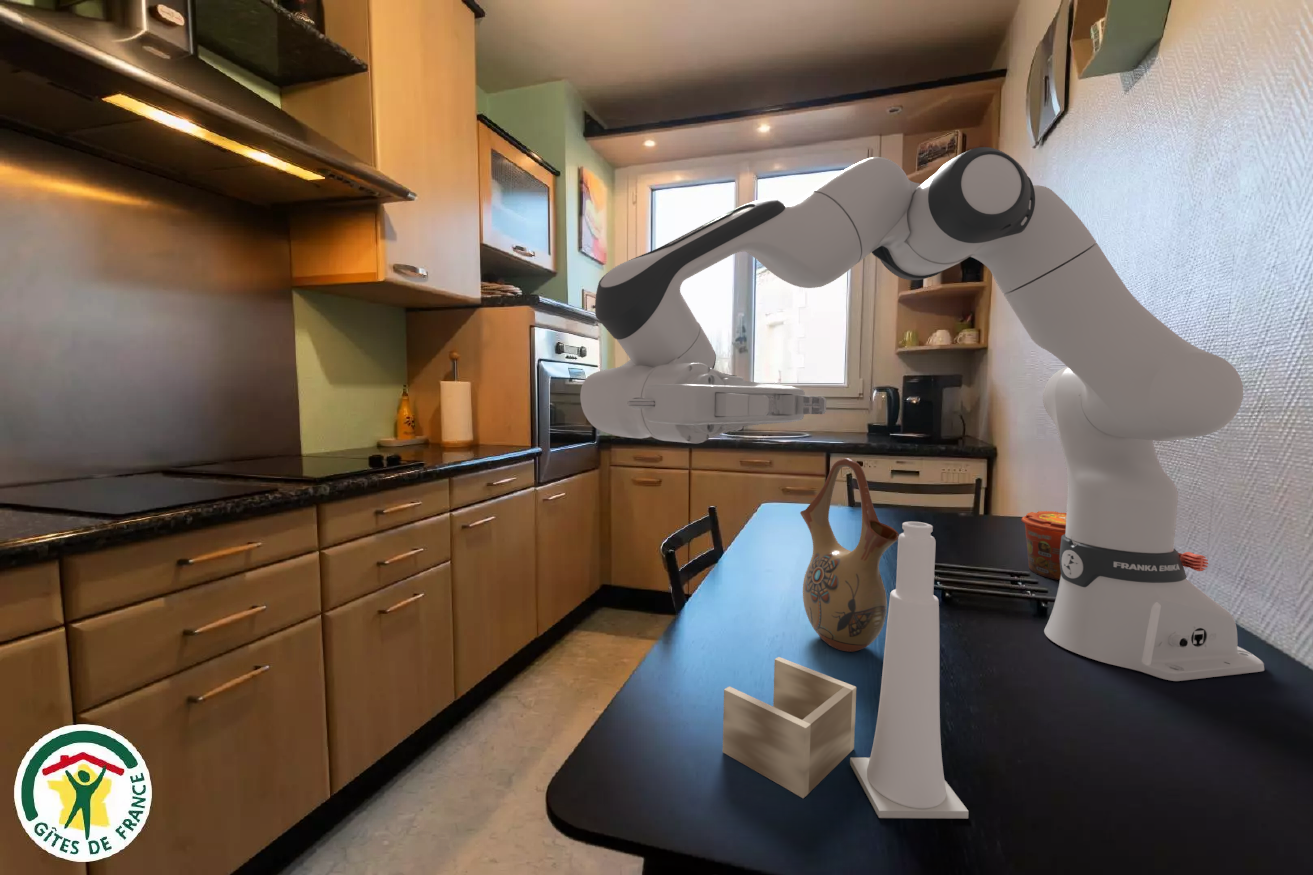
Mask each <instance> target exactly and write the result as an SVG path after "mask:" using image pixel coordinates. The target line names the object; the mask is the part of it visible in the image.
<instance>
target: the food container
mask: <svg viewBox="0 0 1313 875" xmlns="http://www.w3.org/2000/svg"><path fill="white" fill-rule="evenodd" d="M1066 514H1067V512H1058V511H1052V510H1044V511H1042V510H1040V511H1039V510H1038V511H1037V512H1033V511H1030V512H1028V513H1026V515H1025V516H1022V517H1021V523H1022V524H1023V523H1024V529H1025V530H1024V531H1025V538H1026V549H1027V560H1028V568H1029V570H1030V571H1031V572H1032V573H1034V574H1036V575H1039V576H1040V577H1044V578H1048V579H1052V580H1056V581H1059V582H1060V578H1061V570H1060V559H1059V558H1060V546H1061V537H1062V535H1064V534H1065V532H1066Z"/></svg>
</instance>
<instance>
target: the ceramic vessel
mask: <svg viewBox="0 0 1313 875" xmlns="http://www.w3.org/2000/svg"><path fill="white" fill-rule="evenodd" d="M846 467H847V468H849V469H850V470H852V472H853V473H854V476H855V479H856V482H857V485H858V486H857V487H858V489H859V490H858V491H859V496H860V504H861V531H860V537H859V541H858V544H857V545H856V546H855V548H854V549H853V550H850V549H847V548H845V547H844V546H842V545H841V544H840V543H839V541H838V540H837V538H836V536H835V534H834V532H833V529H832V526H831V523H830V520H829V518H830V508H831V502H832V498H833V494H834V489H835V485H836V481H837V479H838V478H837V477H838V475H839V473H840V471H841V469H842V468H846ZM865 474H866V473H865V471H864V469H863V468H862V466H861V465H860V464H859V463H858V462H857V461H855V460H854V459H852V458H849V457H846V458H841V459H839V460H836V461H835V462H834V463H833V464H832V466H831V468H830V470H829V473H828V475H827V478H826V480H825V482H824V484H823V486H822V488H821V489H820V491H819V492H818V494H817V495H816V497H815V498H814V499H813V500H812V501H811V503H809V505H808V506H807V507H806V509H804V510H802V511H800V512H799V514H800V516H801V517H802V519H803V520H804V522H805V524H806V526H807V528H808V530H809V532H810V533H809V534H810V535H811V541H812V555H811V557H810V558H811V559H810V561H809V564H808V566H807V568H806V571H805V573H804V577H803V584H802V601H803V606H804V611H805V614H806V616H807V619H808V621H809V623H810V625H811V627H812V629H813V630H814V631H815V633H816V634H817V636H819V638H821V640H822V641H823V642H825V644H827V645H828V646H830V647H831V648H833V649H835V650H838V651H842V652H848V653H849V652H850V653H851V652H852V653H853V652H859V651H861V650H863V649H865V648H867V647H869V646H870V645H871V644H872V643H873V642H875V640H876V639H877V638H878V637H879V635H880V634H881V632H882V630H883V627H884V625H885V622H886V618H887V617H886V616H887V614H888V613H887V612H888V601H887V600H888V599H887V592H886V587H885V585H884V582H883V579H882V574H881V571H880V562H881V558H882V556H883V555H884V553H885V552H886V551H887V550H888V549H890V547H891V546H892V545H894V544H896V542H898V537H899V535H900V533H899V532H898V531H897V530H896V529H895V528H893V527H892V526H890V525H888V524H885V523H882V522H880V520H879V518H878V516H877V513H876V511H875V508H874V504H873V501H872V496H871V493H870V489H869V485H868V481H867V477H866V475H865Z"/></svg>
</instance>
